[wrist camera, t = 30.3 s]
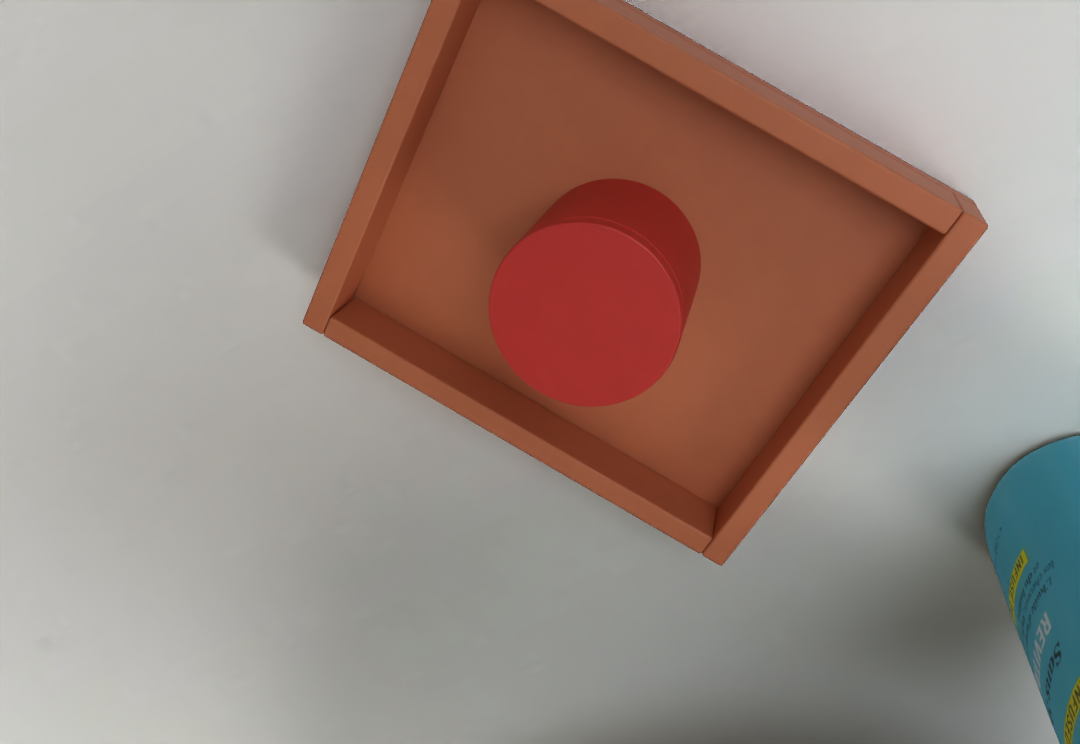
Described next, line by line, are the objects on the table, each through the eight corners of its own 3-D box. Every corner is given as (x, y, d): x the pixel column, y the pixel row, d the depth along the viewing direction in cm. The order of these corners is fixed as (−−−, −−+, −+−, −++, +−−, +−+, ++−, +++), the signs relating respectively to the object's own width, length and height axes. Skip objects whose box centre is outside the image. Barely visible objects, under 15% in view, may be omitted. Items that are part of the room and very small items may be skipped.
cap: (697, 348, 23) (678, 418, 20) (536, 336, 24) (492, 401, 21) (704, 180, 22) (685, 226, 18) (531, 175, 23) (482, 217, 19)
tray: (335, 296, 26) (301, 323, 24) (490, -76, 21) (461, -77, 19) (727, 524, 26) (721, 568, 24) (975, 201, 21) (990, 225, 19)
